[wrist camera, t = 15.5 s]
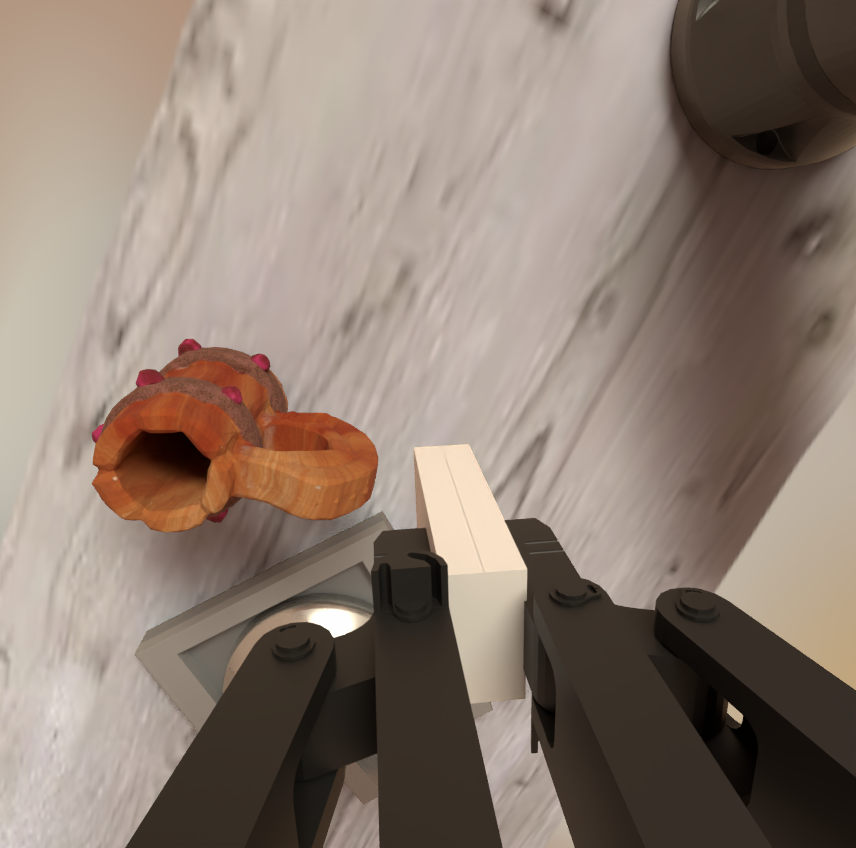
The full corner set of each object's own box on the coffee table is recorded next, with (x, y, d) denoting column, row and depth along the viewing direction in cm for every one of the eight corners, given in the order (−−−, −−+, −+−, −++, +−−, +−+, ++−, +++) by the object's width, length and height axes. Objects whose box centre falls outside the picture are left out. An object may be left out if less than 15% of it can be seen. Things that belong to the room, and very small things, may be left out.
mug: (150, 440, 43) (43, 547, 29) (161, 323, 41) (50, 375, 26) (363, 474, 45) (361, 589, 31) (384, 364, 43) (393, 433, 29)
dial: (189, 654, 46) (164, 714, 41) (350, 559, 45) (348, 607, 40) (298, 775, 51) (289, 844, 45) (448, 691, 50) (458, 752, 44)
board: (382, 511, 46) (383, 530, 43) (486, 685, 52) (493, 712, 49) (146, 631, 47) (133, 657, 44) (273, 789, 53) (268, 821, 50)
